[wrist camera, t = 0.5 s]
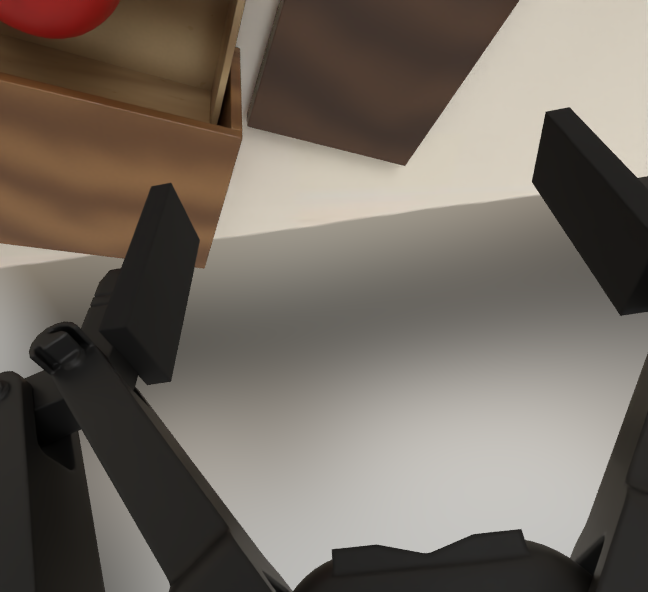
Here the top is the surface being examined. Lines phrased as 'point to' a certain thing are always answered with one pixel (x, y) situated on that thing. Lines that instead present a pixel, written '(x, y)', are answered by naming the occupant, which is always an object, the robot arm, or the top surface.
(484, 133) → the top surface
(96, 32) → the drawer
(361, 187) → the top surface
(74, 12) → the apple
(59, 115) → the cabinet
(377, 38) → the board
